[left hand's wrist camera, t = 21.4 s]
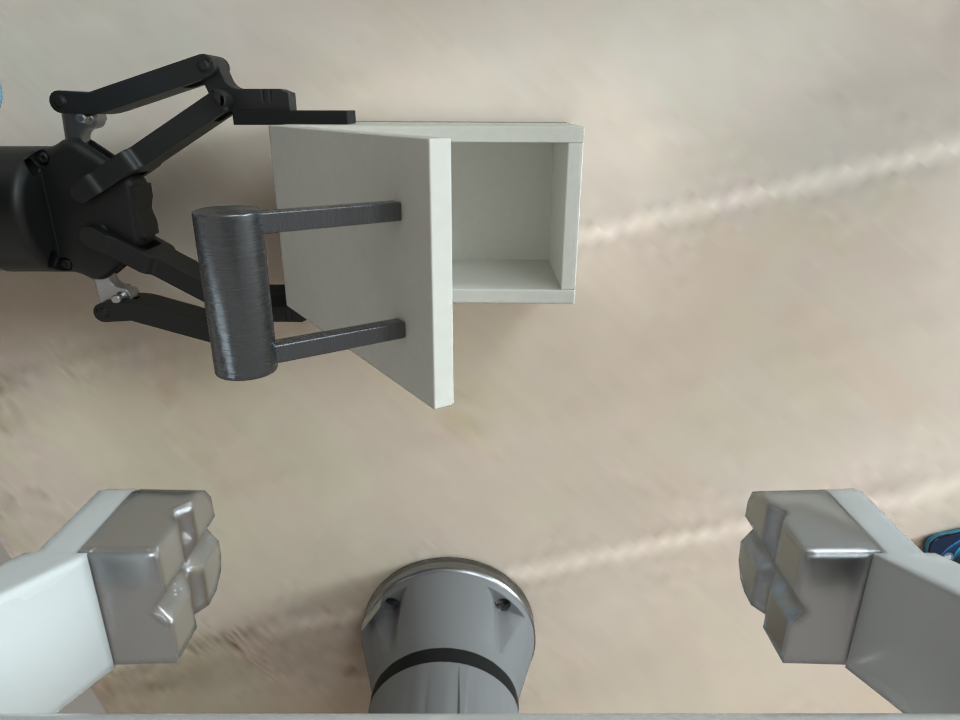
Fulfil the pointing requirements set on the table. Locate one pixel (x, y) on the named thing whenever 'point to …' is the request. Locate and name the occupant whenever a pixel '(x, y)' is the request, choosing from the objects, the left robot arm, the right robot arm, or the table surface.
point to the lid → (339, 259)
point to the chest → (508, 206)
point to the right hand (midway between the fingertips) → (357, 210)
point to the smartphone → (945, 545)
